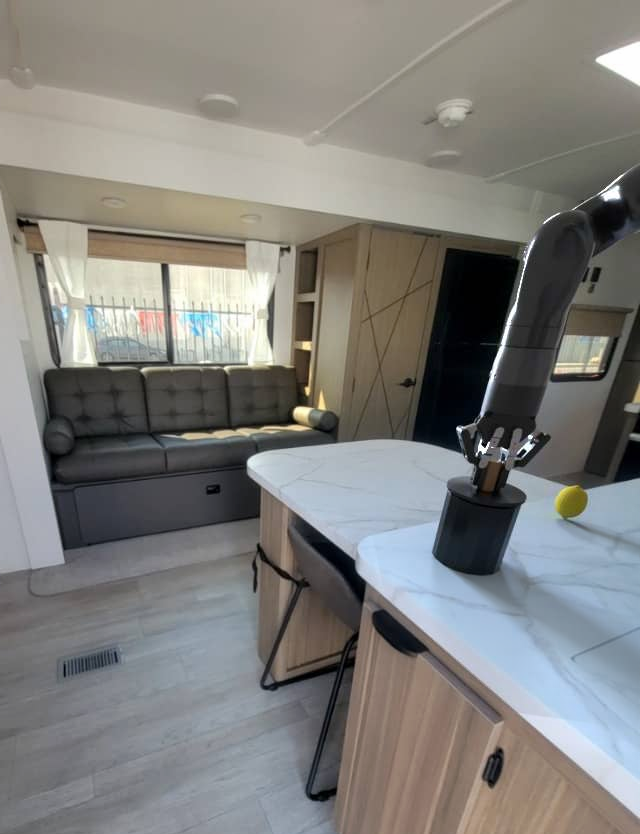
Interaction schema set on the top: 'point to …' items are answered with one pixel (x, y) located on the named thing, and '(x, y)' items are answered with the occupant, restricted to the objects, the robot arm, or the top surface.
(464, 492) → the lid
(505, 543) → the canister
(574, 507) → the lemon
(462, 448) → the robot arm
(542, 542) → the top surface
